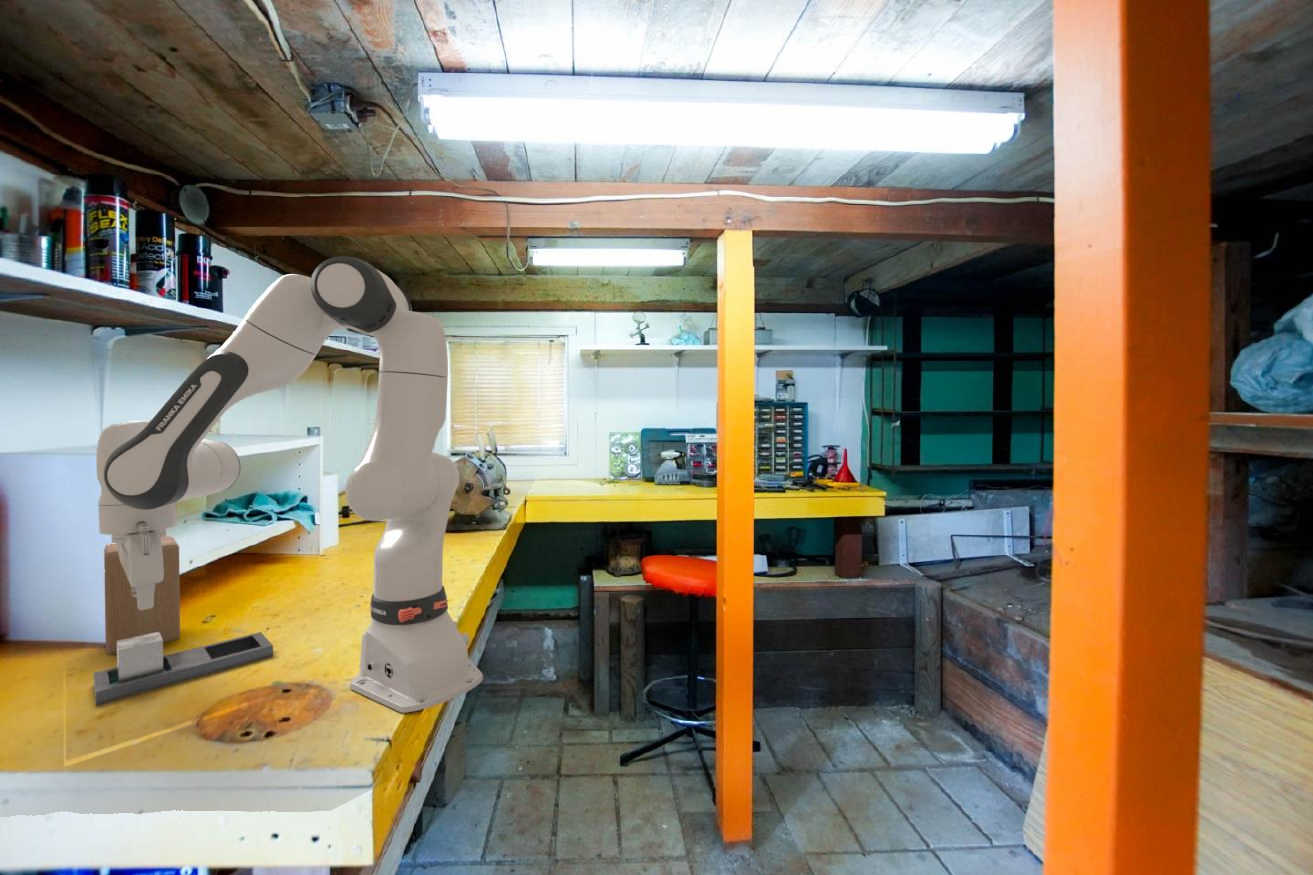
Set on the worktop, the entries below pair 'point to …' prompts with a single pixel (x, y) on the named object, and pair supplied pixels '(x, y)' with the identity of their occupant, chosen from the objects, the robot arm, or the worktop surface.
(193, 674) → the gray slotted tray
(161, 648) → the white upright block
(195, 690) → the worktop surface
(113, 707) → the worktop surface
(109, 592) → the wooden block
